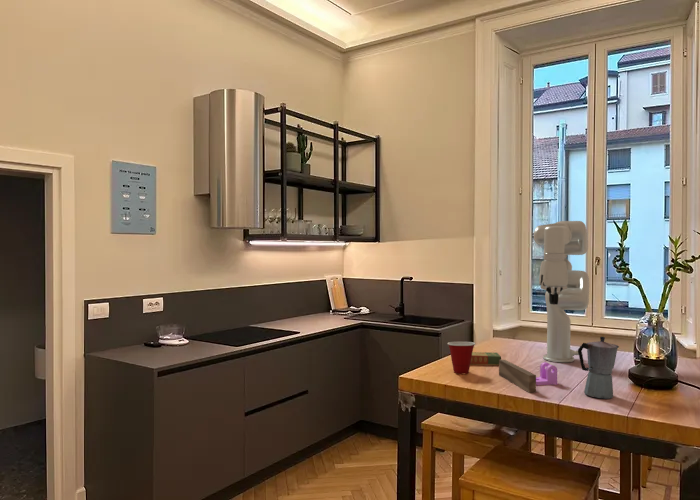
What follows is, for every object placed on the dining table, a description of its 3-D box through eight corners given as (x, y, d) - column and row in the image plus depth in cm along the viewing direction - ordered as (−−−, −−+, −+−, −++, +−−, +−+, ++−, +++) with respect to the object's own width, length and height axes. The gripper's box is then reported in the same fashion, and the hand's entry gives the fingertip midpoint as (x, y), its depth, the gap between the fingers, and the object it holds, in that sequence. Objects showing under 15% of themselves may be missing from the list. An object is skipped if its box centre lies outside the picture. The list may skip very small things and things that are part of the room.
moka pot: (627, 398, 179) (628, 338, 178) (589, 402, 174) (589, 340, 174) (606, 390, 188) (607, 333, 187) (569, 393, 183) (569, 335, 183)
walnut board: (505, 374, 209) (505, 359, 208) (535, 392, 185) (536, 375, 185) (498, 375, 208) (499, 359, 208) (529, 392, 184) (529, 375, 184)
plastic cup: (468, 368, 219) (468, 339, 219) (479, 374, 209) (479, 344, 208) (443, 369, 217) (443, 339, 217) (452, 376, 207) (452, 345, 207)
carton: (460, 360, 234) (460, 351, 234) (497, 361, 233) (497, 351, 233) (462, 365, 226) (462, 355, 226) (501, 365, 225) (501, 355, 225)
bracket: (549, 380, 201) (549, 361, 201) (557, 384, 196) (557, 365, 196) (516, 382, 199) (516, 363, 199) (524, 386, 194) (524, 366, 193)
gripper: (566, 257, 217) (565, 302, 217) (531, 257, 214) (531, 303, 215) (577, 258, 209) (576, 304, 210) (541, 258, 207) (540, 305, 207)
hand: (553, 304), depth 212 cm, fingers closed
